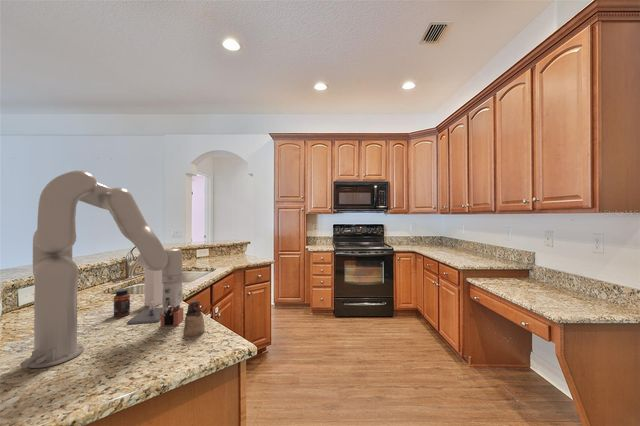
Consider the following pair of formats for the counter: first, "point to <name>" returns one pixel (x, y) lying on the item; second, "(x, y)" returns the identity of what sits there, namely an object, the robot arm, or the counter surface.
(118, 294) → the supplement bottle
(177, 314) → the red hollow square block
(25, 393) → the counter surface
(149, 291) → the milk
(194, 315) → the figurine
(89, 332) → the counter surface
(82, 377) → the counter surface
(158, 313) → the plate
